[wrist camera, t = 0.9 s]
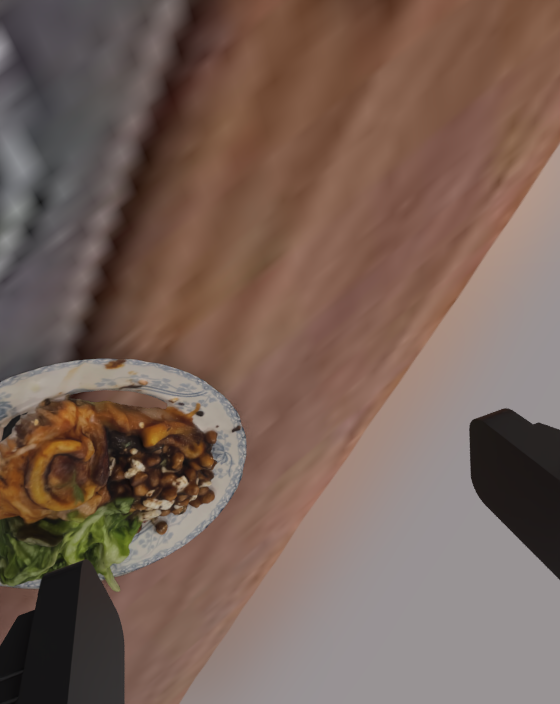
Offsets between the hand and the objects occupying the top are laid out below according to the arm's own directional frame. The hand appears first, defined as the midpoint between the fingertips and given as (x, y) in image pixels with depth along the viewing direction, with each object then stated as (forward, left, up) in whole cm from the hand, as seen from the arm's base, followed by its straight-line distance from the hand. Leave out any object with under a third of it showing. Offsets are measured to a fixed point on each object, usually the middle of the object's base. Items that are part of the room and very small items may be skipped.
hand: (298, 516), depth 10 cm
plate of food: (+17, -22, -28) cm, 40 cm away
